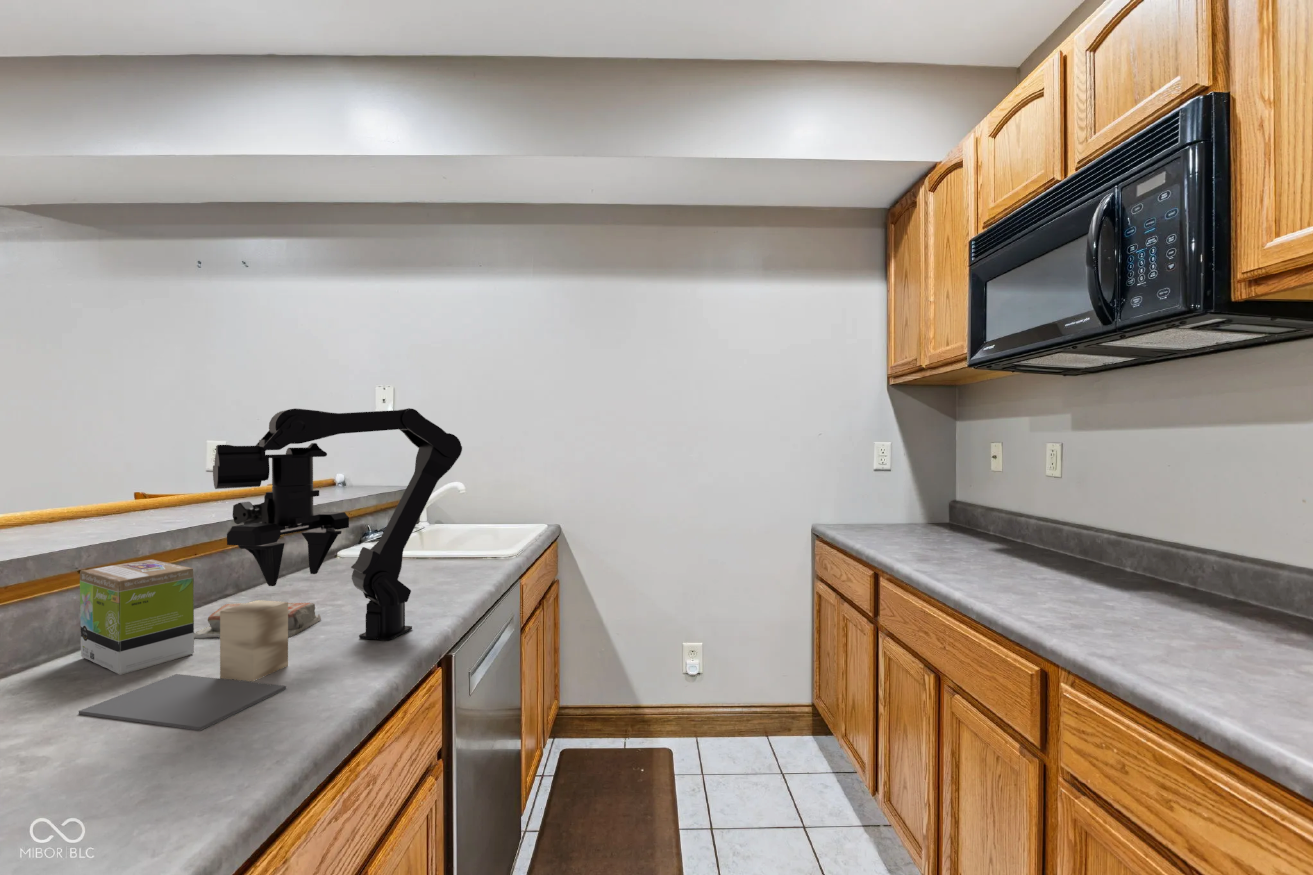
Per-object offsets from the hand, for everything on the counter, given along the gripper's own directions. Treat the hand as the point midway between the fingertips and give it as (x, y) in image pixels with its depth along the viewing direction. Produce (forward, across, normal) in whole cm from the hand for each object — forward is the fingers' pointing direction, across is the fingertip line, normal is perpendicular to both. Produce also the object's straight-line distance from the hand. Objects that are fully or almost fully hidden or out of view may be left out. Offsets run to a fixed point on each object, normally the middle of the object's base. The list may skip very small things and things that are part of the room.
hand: (293, 579), depth 93 cm
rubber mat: (+12, +17, 0) cm, 21 cm away
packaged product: (+13, -10, -18) cm, 25 cm away
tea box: (+13, +5, -25) cm, 29 cm away
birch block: (+12, +7, 0) cm, 14 cm away
